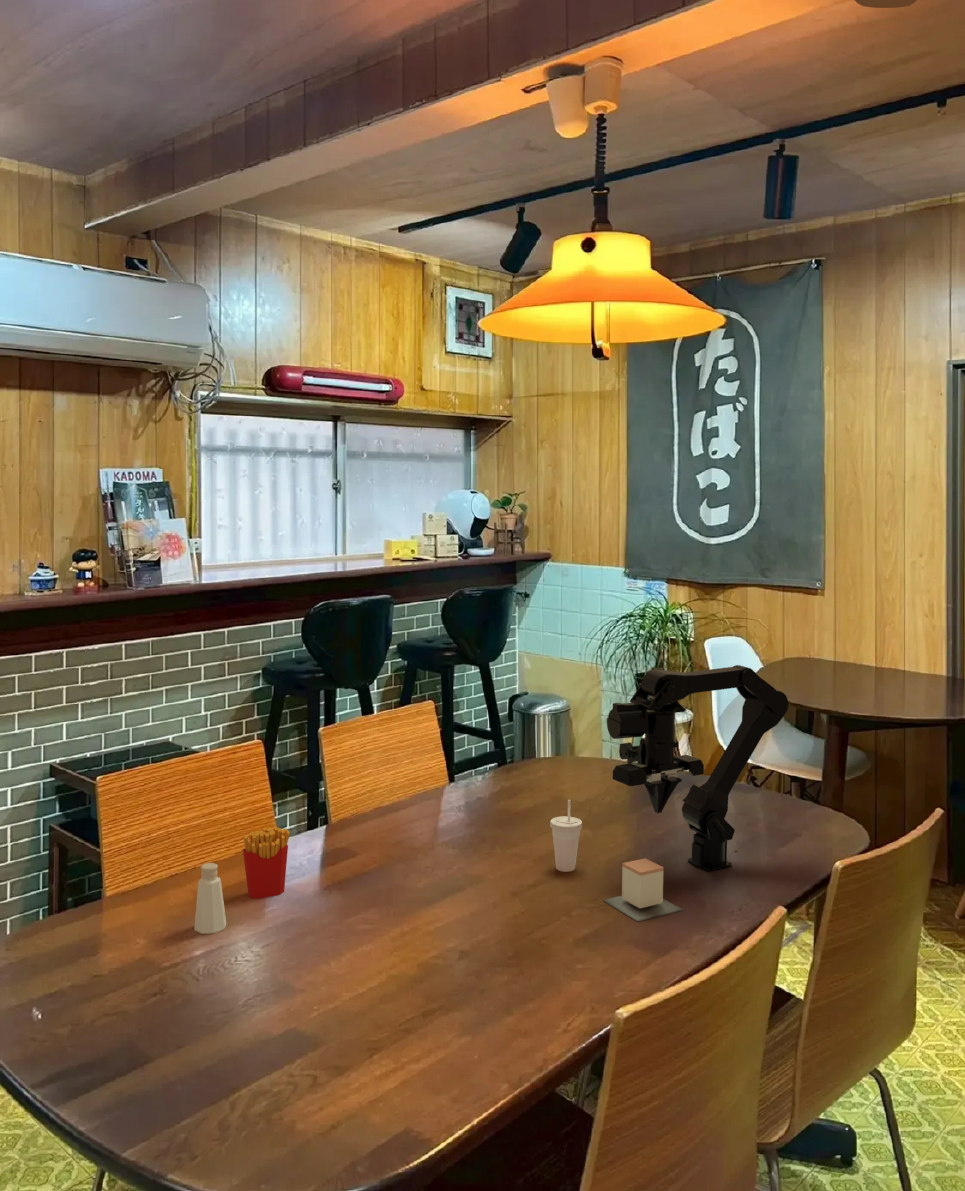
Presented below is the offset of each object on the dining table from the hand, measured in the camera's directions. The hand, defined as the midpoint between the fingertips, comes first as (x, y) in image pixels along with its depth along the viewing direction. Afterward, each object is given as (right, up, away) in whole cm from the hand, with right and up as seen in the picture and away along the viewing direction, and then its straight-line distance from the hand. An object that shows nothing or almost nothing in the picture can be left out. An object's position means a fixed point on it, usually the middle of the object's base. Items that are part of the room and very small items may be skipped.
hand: (657, 812), depth 195 cm
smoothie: (-18, -12, +3) cm, 22 cm away
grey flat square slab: (-6, -14, -16) cm, 21 cm away
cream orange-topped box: (-6, -13, -16) cm, 21 cm away
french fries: (-75, -13, -11) cm, 77 cm away
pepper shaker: (-81, -14, -25) cm, 86 cm away
